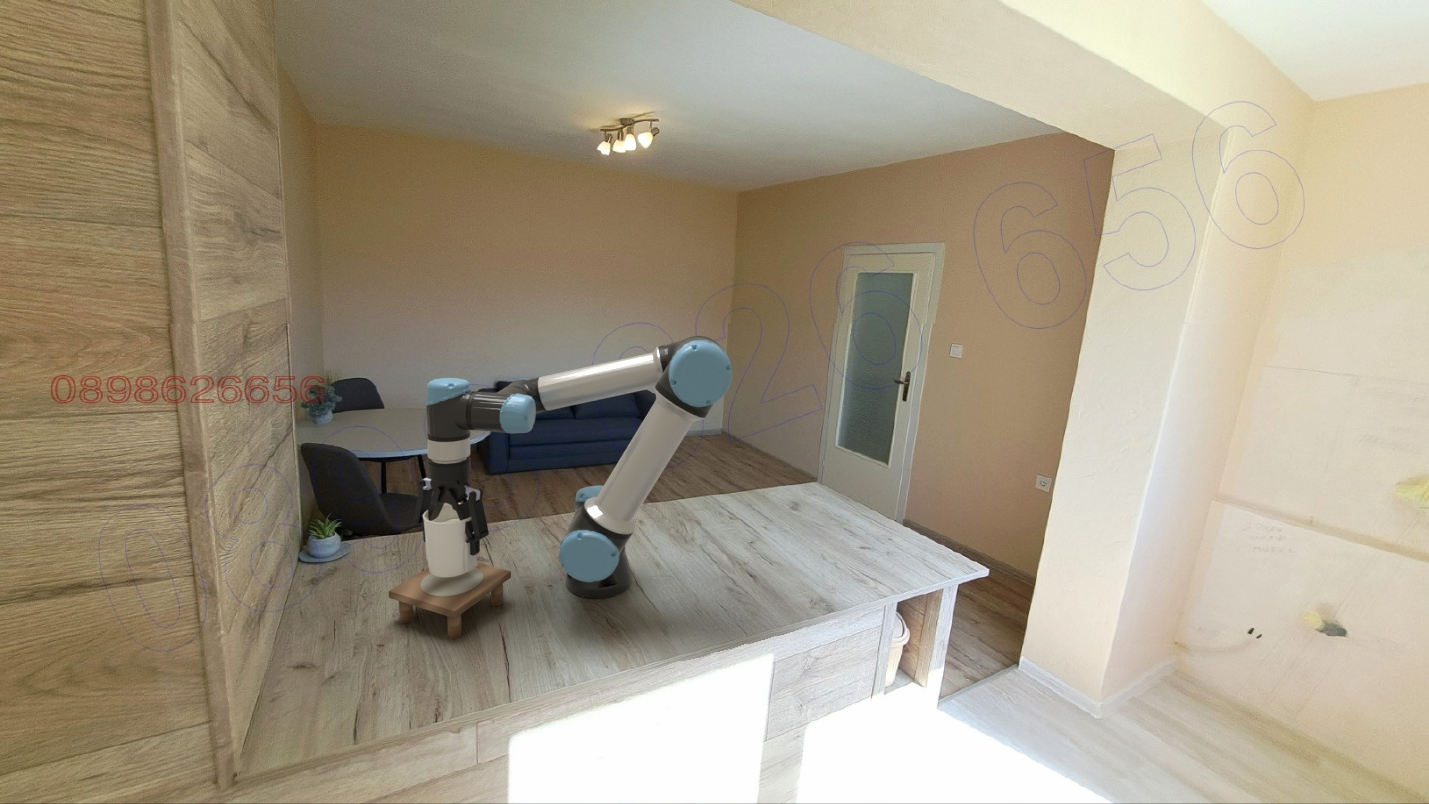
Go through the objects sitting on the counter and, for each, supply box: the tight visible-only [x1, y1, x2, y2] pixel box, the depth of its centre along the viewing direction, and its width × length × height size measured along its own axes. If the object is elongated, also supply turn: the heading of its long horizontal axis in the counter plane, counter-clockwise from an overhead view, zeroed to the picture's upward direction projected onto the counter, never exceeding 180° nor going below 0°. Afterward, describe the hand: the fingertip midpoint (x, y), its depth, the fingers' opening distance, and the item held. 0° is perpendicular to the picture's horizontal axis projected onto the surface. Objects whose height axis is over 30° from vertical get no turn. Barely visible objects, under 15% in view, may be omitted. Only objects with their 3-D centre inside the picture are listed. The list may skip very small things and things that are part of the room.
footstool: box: [388, 561, 512, 640], centre depth 112 cm, size 16×16×7 cm
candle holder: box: [423, 503, 474, 577], centre depth 109 cm, size 10×10×12 cm
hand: (451, 562), depth 110 cm, fingers closed on candle holder, 9 cm apart
